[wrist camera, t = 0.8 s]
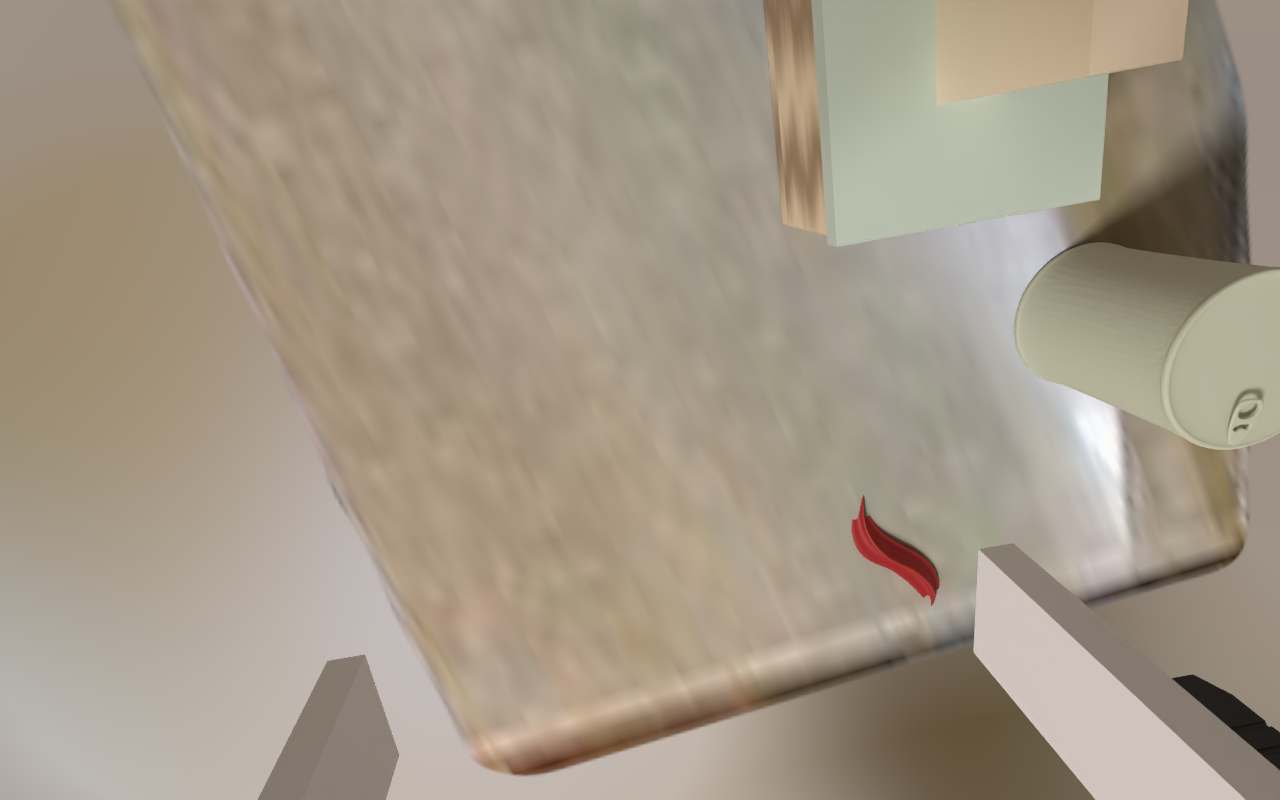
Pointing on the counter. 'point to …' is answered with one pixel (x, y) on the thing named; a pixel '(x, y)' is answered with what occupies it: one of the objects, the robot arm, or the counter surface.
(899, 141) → the lid
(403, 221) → the counter surface
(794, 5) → the light wood open box
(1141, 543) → the counter surface
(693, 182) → the counter surface
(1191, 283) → the can
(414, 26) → the counter surface
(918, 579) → the cayenne pepper
